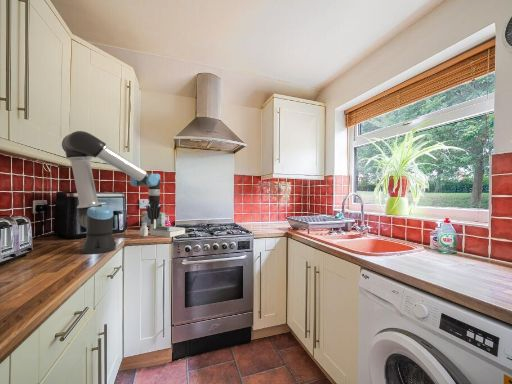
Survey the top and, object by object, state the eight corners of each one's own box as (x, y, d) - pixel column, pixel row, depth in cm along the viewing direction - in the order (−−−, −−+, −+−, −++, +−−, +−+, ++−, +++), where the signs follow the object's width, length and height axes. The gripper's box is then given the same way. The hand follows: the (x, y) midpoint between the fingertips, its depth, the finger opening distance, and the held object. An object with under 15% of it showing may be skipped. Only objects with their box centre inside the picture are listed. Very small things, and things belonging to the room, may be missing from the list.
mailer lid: (170, 231, 160) (170, 227, 160) (149, 229, 168) (150, 225, 168) (185, 228, 175) (185, 224, 175) (165, 226, 183) (166, 223, 183)
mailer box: (170, 237, 160) (170, 232, 160) (149, 234, 168) (149, 230, 168) (184, 233, 175) (185, 229, 175) (165, 231, 183) (165, 227, 183)
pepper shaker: (144, 236, 161) (144, 223, 161) (139, 236, 162) (140, 223, 162) (148, 235, 165) (148, 222, 165) (143, 235, 166) (144, 222, 166)
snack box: (140, 229, 192) (141, 211, 192) (145, 228, 198) (146, 211, 198) (161, 230, 186) (161, 212, 186) (165, 229, 191) (166, 212, 192)
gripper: (150, 195, 151) (149, 230, 151) (165, 195, 163) (164, 227, 163) (142, 195, 154) (141, 229, 154) (157, 195, 166) (156, 226, 166)
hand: (153, 228), depth 159 cm, fingers closed
